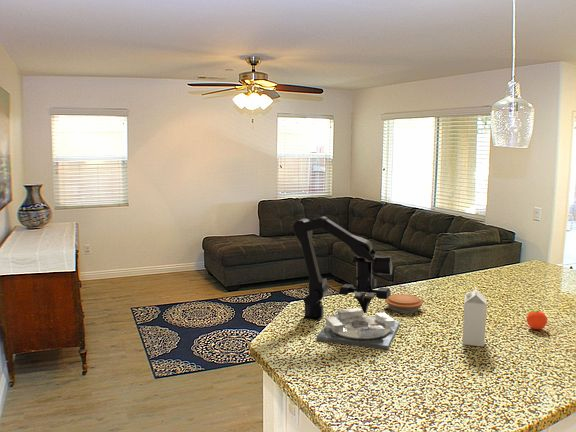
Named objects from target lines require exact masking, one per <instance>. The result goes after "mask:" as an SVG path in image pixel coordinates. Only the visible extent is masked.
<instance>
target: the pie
mask: <svg viewBox="0 0 576 432" xmlns="http://www.w3.org/2000/svg"><path fill="white" fill-rule="evenodd" d="M384 301H385V303H386V304H387V305H388V307H389V309H390V310H391V311H393V312H395V313H399V314H414V313H417V312H418V311H419V310H420V308H421V306H422V305H423V304H424V301H423V299H421V298H419V297H418V296H415V295H414V294H413V295H412V294H407V293H405V294H404V293H396V294H391V295H390V296H389V297H388V298H387V299H384Z"/></svg>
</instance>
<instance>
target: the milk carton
mask: <svg viewBox="0 0 576 432" xmlns="http://www.w3.org/2000/svg"><path fill="white" fill-rule="evenodd" d="M463 302H464V303H463V304H464V305H463V319H462V320H463V323H462V325H463V326H462V341H461V343H462V345H467V346H476V347H484V348H485V342H486V341H485V340H486V325H487V323H486V322H487V319H486V318H487V305H488V304H487V297H485V296H484V295H483V294H482V293H481V292H479V290H477V287H475V289H474V290H472V291H468V292H466V293H465V296H464V300H463Z"/></svg>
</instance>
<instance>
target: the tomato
mask: <svg viewBox="0 0 576 432" xmlns="http://www.w3.org/2000/svg"><path fill="white" fill-rule="evenodd" d="M525 314H526V313H524V315H525ZM526 323H527V325H528V326H529V327H530V328H531V329H534V330H541V329H544V328H545V327H546V325H547V323H548V318H547V315H546V314H545V313H544V312H543V311H541V310H537V309H530V310H528V314H527V315H526Z"/></svg>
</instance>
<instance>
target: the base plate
mask: <svg viewBox="0 0 576 432" xmlns="http://www.w3.org/2000/svg"><path fill="white" fill-rule="evenodd" d="M333 317H336V318H339V317H338V313H335V314H334V315H333ZM400 325H401V322H400V321H399V320H398V321H397V320H395V321H394V327H391V329H390V333H389V334H388V335H386V336H384V337H381V338H377V339H368V340H361V339H350V338H346V337H342V336H339V335H337V334H335V333H333V332H332V331H331V330H330V328H329V327H328V326H327V325H326V324H325V326H324V327H323V328H322V329H321V330H320V332H319V333H318V334H317V335H316V341H320V342H328V343H334V344H341V345H347V344H348V345H347V346H349V345H350V346H354V345H355V347H361V346H362V348H368V347H369V348H370V349H375V350H376V349H377V350H384V351H388V350H389V349H390V346H391V345H390V344H392V343H393V340H394V339H395V337H396V334H397V332H398V330H399V328H400ZM391 342H392V343H391Z"/></svg>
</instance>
